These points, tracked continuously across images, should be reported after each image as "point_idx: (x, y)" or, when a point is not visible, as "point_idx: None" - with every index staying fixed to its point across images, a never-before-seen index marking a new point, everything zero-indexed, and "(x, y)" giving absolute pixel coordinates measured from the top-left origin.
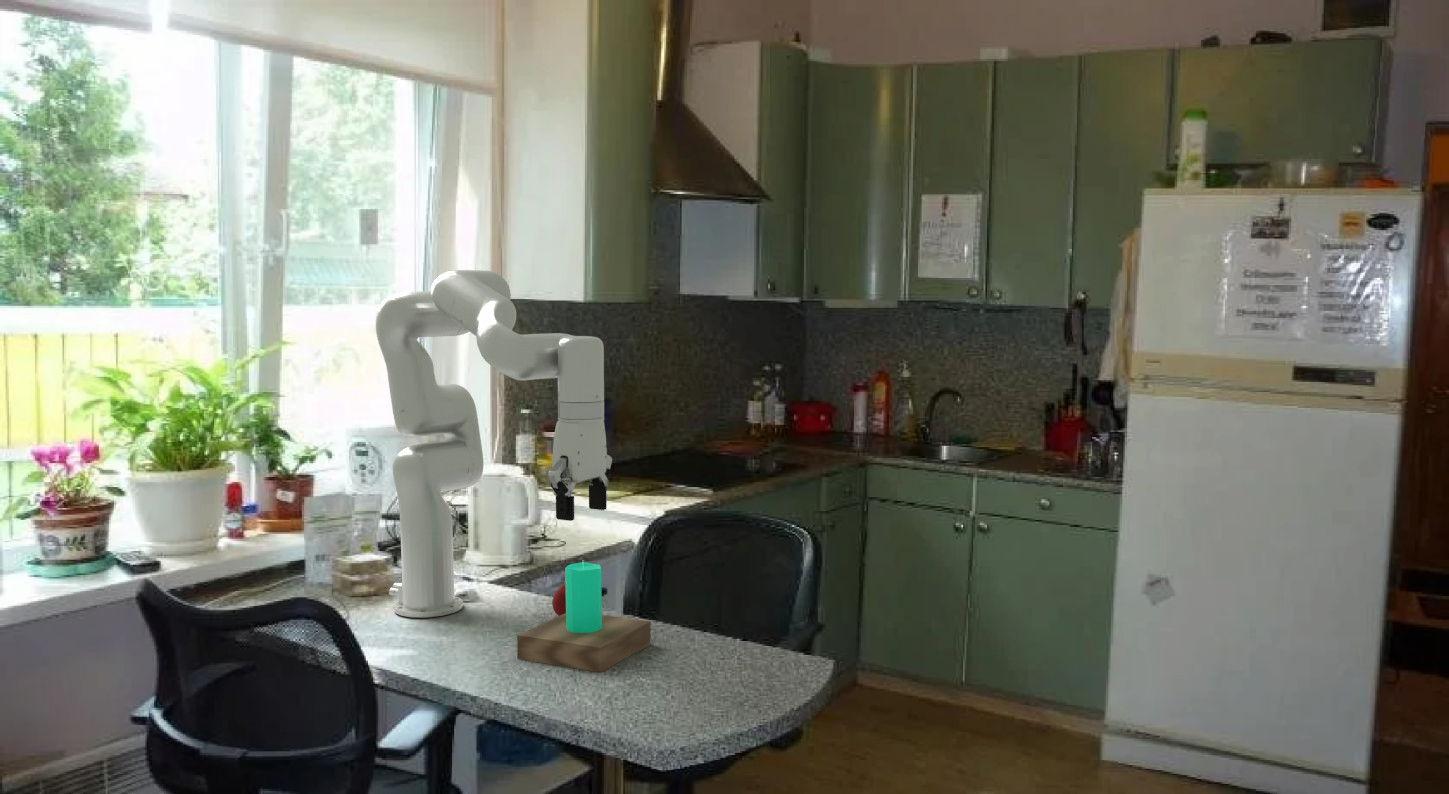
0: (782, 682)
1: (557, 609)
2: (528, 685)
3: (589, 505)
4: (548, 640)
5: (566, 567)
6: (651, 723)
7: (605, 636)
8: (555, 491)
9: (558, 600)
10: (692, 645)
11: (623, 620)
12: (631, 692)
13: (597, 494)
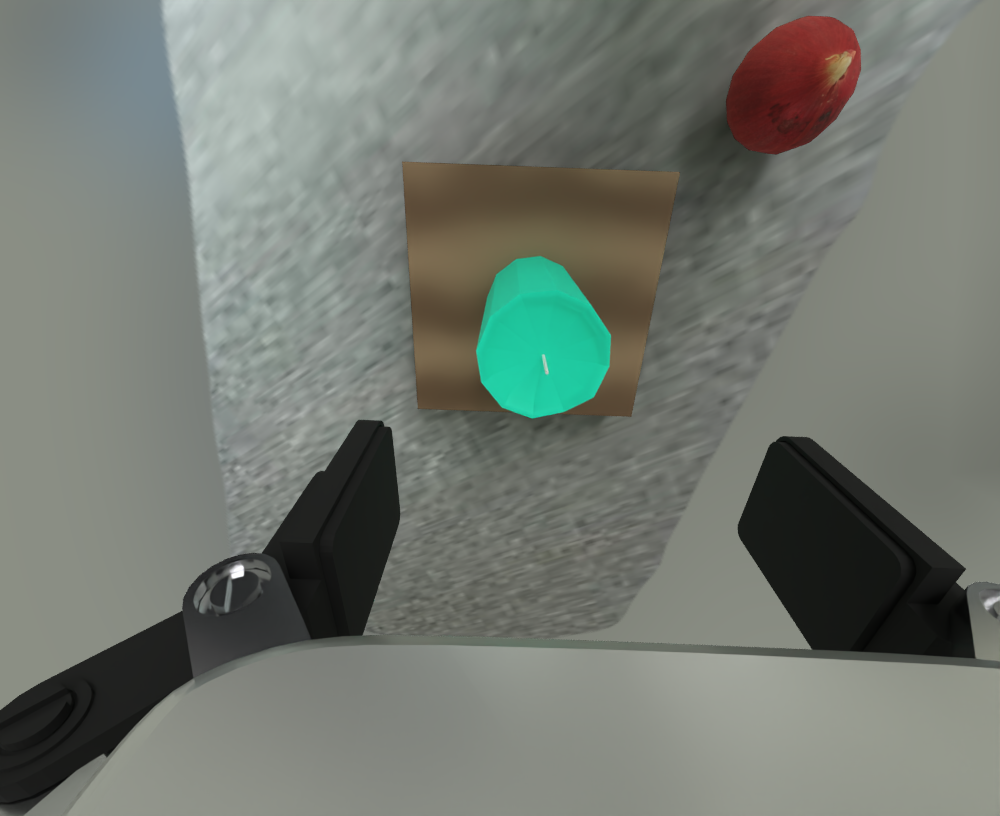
0: (510, 612)
1: (733, 79)
2: (295, 300)
3: (782, 453)
4: (409, 273)
5: (525, 296)
6: None
7: None
8: (156, 636)
9: (750, 75)
10: (636, 460)
11: (621, 359)
12: None
13: (813, 577)
